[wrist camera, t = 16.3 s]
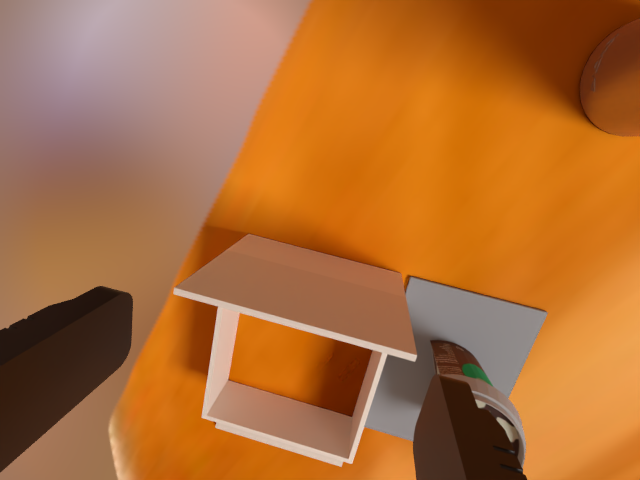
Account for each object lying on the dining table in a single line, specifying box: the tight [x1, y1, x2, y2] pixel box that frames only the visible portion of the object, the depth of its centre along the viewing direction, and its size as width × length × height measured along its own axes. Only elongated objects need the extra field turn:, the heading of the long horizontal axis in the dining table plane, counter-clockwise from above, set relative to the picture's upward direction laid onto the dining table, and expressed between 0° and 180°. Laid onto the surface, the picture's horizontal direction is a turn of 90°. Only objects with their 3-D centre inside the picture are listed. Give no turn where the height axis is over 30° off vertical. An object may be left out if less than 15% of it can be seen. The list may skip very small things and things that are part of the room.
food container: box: [430, 340, 526, 468], centre depth 34 cm, size 12×6×10 cm, turn 12°
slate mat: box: [364, 276, 548, 441], centre depth 39 cm, size 14×20×1 cm
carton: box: [174, 234, 417, 467], centre depth 35 cm, size 17×27×15 cm, turn 167°
